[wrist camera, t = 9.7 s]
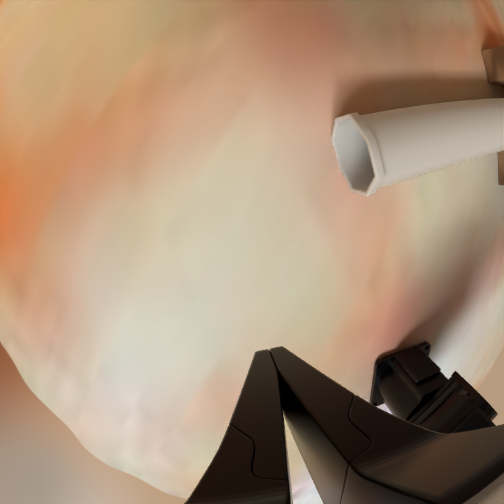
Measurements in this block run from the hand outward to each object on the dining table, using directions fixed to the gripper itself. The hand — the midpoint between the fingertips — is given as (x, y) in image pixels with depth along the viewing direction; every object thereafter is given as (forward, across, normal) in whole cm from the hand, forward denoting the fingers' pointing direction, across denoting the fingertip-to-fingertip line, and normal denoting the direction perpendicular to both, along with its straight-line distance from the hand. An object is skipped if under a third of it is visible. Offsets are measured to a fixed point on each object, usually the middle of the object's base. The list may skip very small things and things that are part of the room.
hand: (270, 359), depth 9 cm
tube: (+12, -20, -7) cm, 25 cm away
